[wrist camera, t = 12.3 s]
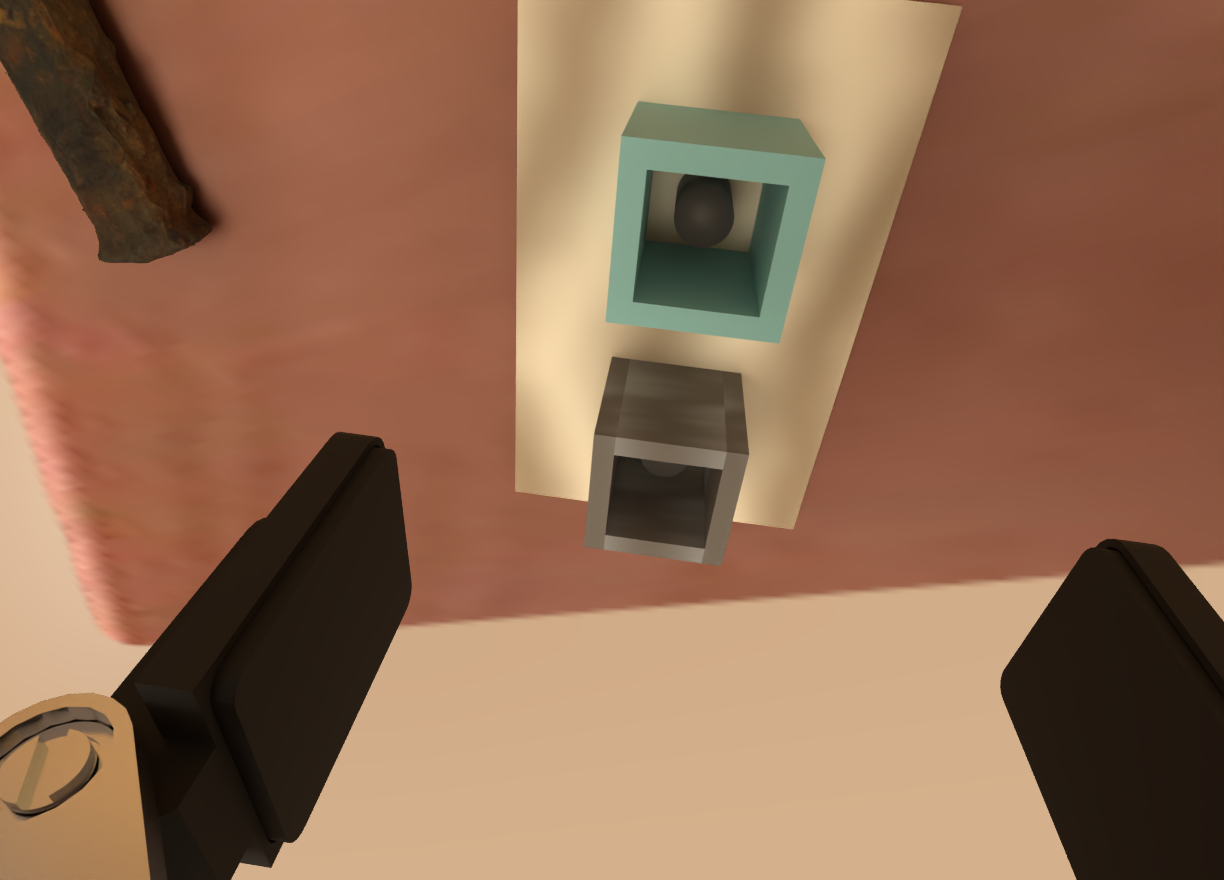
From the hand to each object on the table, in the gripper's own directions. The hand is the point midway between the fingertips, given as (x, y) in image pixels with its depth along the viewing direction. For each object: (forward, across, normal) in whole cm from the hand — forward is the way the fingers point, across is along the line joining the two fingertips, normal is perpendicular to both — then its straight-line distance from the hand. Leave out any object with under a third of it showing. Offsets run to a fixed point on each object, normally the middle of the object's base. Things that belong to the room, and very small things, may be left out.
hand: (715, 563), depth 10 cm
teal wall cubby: (+19, 0, 0) cm, 19 cm away
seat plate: (+20, 0, +4) cm, 21 cm away
